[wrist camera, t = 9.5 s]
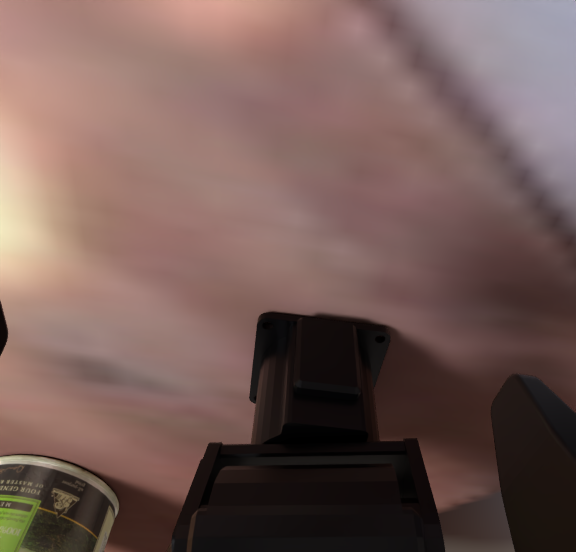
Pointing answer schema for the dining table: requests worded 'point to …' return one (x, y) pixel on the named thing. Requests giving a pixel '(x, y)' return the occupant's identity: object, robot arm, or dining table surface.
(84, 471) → the coffee can
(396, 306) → the dining table surface
